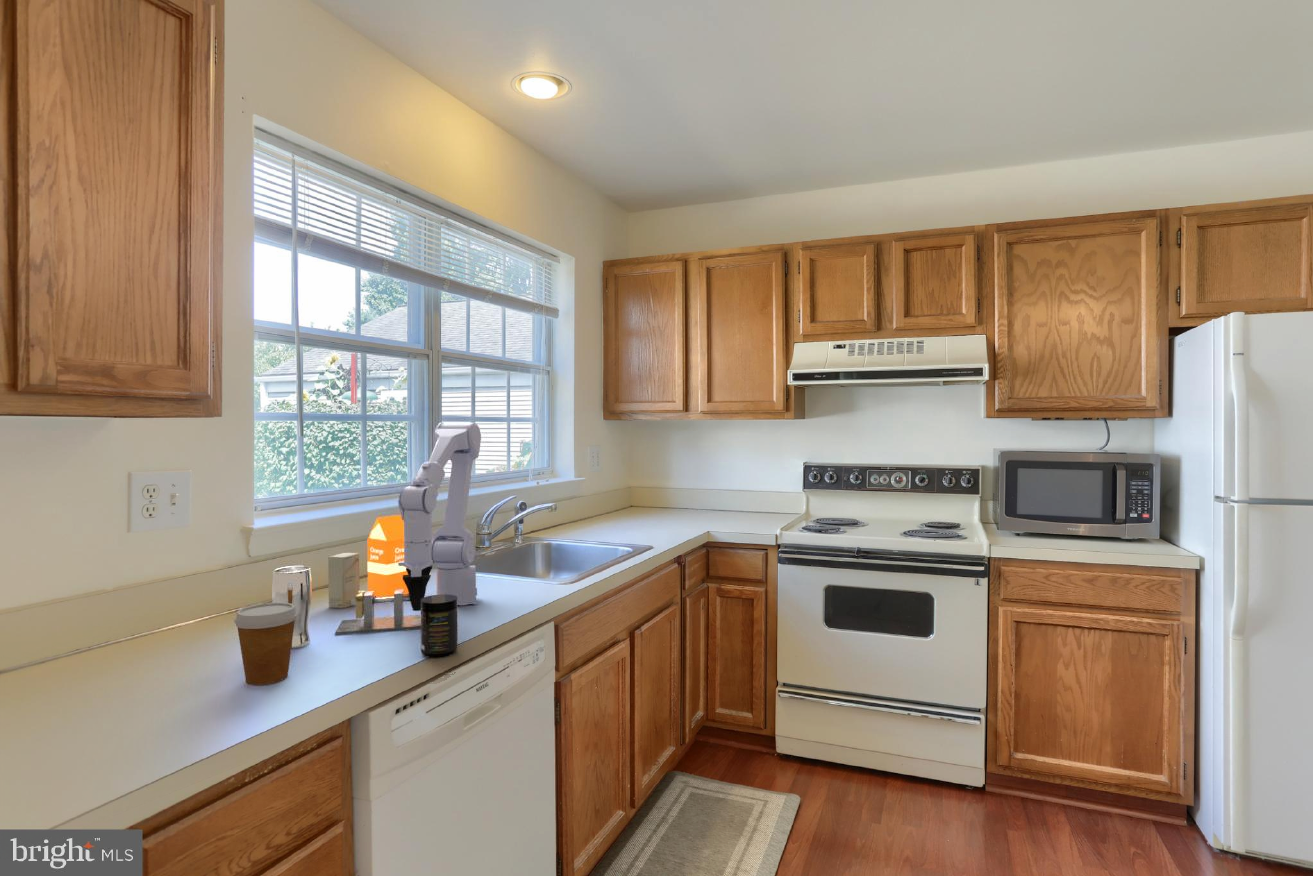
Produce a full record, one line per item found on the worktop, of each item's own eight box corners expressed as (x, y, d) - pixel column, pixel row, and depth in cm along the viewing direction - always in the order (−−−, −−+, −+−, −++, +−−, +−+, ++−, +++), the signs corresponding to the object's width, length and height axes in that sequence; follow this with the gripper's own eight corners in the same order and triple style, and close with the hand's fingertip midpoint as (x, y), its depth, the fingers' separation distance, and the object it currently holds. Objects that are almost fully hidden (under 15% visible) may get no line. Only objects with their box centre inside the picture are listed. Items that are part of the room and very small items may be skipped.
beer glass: (320, 642, 139) (319, 567, 138) (289, 652, 132) (288, 574, 132) (296, 637, 142) (295, 564, 141) (264, 647, 135) (263, 570, 135)
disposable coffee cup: (253, 693, 112) (253, 619, 112) (223, 682, 117) (222, 611, 117) (310, 675, 120) (309, 606, 120) (279, 665, 125) (278, 599, 125)
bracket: (428, 616, 157) (428, 585, 157) (427, 628, 148) (426, 594, 148) (342, 623, 152) (342, 590, 152) (335, 635, 143) (335, 600, 143)
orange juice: (367, 595, 177) (366, 516, 176) (396, 588, 184) (396, 513, 184) (387, 599, 173) (386, 519, 172) (416, 591, 180) (415, 515, 180)
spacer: (365, 611, 151) (365, 590, 151) (362, 618, 146) (361, 596, 146) (359, 612, 151) (359, 590, 151) (355, 618, 146) (355, 596, 146)
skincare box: (344, 608, 164) (343, 557, 163) (327, 607, 165) (327, 556, 164) (360, 602, 170) (360, 552, 170) (344, 601, 171) (344, 551, 170)
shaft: (424, 607, 153) (424, 582, 153) (423, 610, 151) (423, 585, 151) (352, 612, 149) (352, 587, 149) (350, 615, 147) (350, 589, 147)
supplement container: (463, 654, 132) (463, 599, 131) (428, 661, 127) (427, 605, 127) (450, 645, 137) (449, 592, 137) (415, 652, 133) (415, 597, 133)
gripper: (401, 536, 157) (401, 596, 158) (395, 547, 143) (395, 613, 144) (433, 535, 159) (434, 594, 160) (431, 546, 145) (431, 610, 146)
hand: (418, 603), depth 152 cm, fingers open, 7 cm apart
